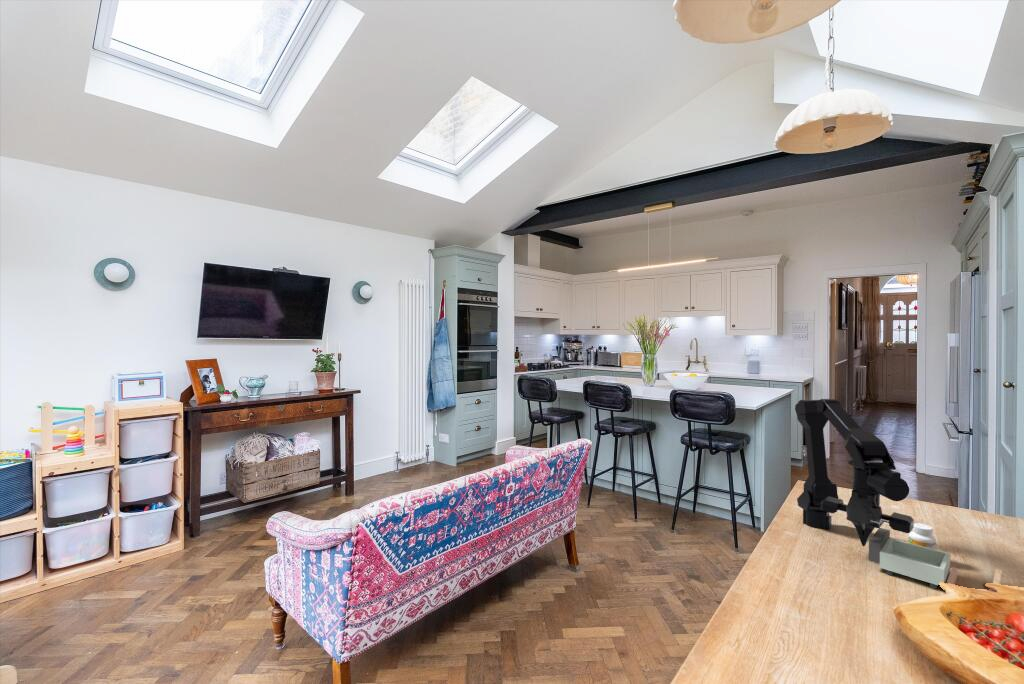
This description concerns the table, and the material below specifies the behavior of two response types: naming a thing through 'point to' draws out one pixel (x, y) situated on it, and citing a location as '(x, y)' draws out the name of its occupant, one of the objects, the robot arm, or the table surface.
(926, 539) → the supplement bottle
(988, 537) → the table surface
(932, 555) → the pale green bin
